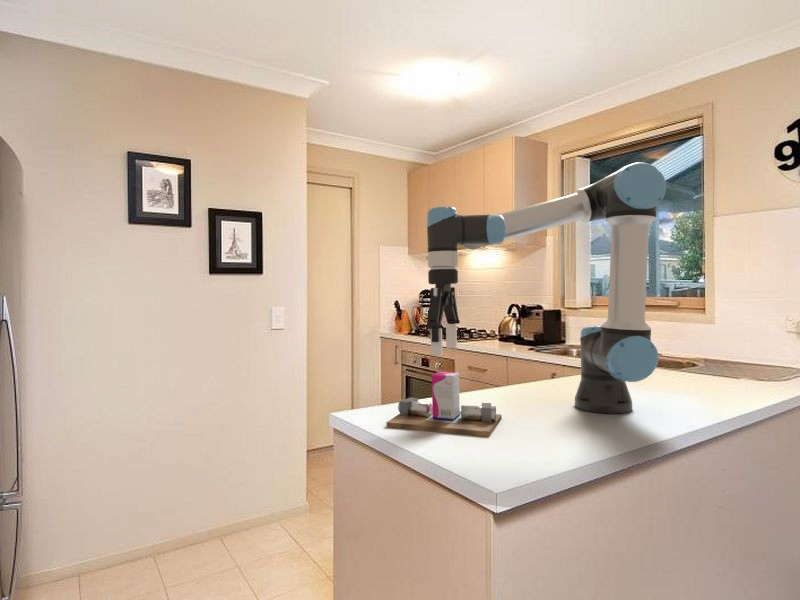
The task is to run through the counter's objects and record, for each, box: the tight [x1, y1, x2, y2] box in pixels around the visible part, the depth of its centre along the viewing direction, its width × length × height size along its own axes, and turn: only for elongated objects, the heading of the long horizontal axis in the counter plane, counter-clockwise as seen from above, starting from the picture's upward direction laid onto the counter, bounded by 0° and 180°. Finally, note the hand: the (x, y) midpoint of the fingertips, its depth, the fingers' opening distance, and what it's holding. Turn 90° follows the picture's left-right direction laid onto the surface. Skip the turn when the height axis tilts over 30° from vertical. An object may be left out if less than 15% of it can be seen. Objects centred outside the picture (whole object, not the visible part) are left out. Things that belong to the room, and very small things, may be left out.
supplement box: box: [431, 371, 461, 421], centre depth 127 cm, size 6×6×12 cm
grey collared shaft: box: [460, 402, 497, 423], centre depth 125 cm, size 9×5×4 cm, turn 80°
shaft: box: [397, 397, 433, 417], centre depth 131 cm, size 9×5×4 cm, turn 57°
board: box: [386, 410, 503, 438], centre depth 128 cm, size 26×16×1 cm, turn 68°
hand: (444, 351), depth 127 cm, fingers open, 13 cm apart
